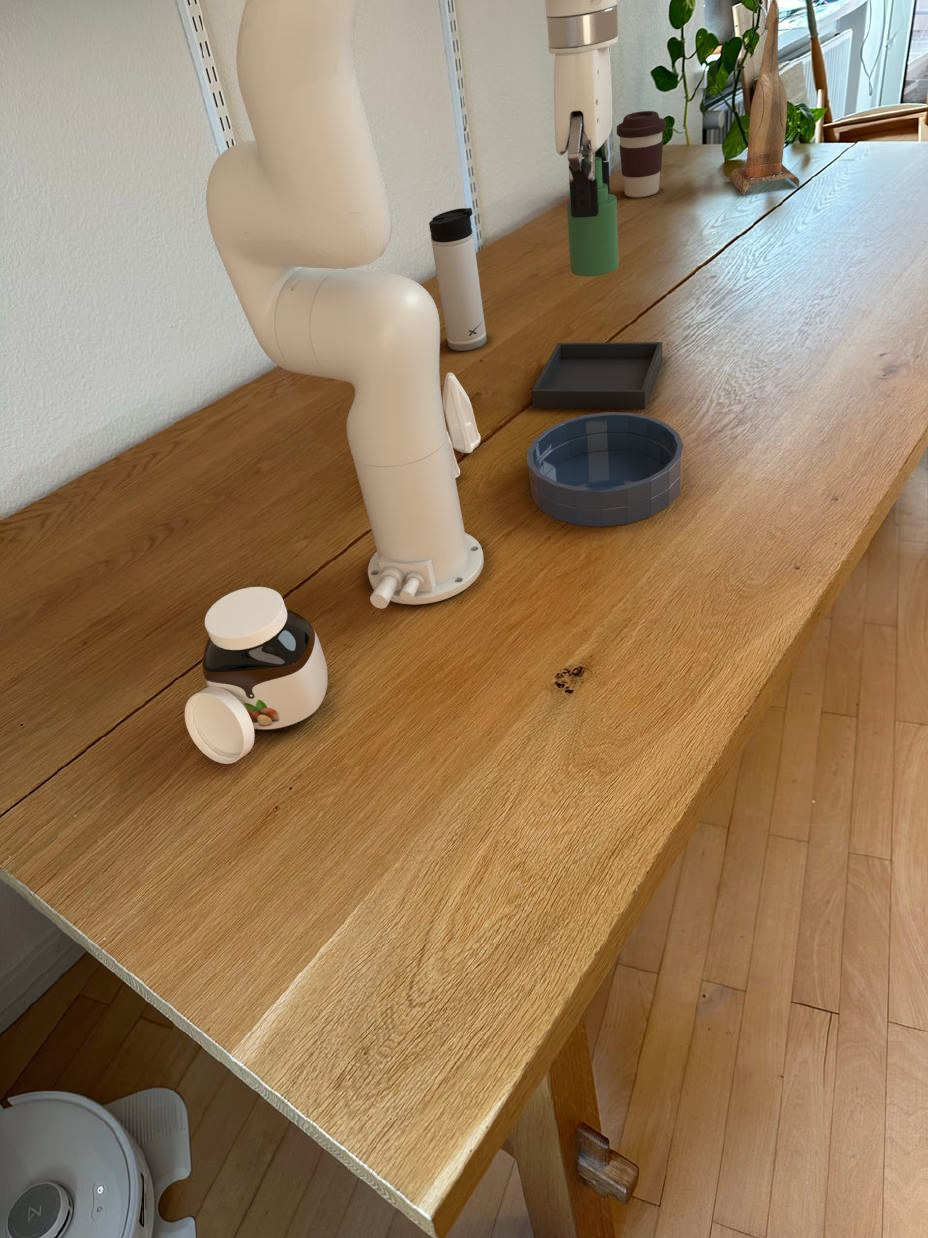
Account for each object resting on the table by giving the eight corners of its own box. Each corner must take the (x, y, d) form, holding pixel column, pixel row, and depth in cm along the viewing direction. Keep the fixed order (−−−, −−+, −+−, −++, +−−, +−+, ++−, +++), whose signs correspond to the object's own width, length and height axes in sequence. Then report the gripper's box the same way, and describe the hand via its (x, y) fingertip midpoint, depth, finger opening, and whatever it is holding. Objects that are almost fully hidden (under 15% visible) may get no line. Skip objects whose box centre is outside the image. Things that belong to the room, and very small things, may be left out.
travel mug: (485, 350, 136) (467, 216, 124) (444, 352, 138) (422, 220, 125) (492, 333, 141) (475, 202, 128) (452, 336, 142) (432, 206, 130)
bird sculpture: (781, 173, 184) (796, -12, 163) (801, 187, 175) (819, -7, 154) (728, 182, 184) (736, -1, 164) (745, 197, 175) (756, 5, 155)
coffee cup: (612, 192, 191) (610, 115, 181) (655, 182, 192) (655, 105, 182) (627, 203, 183) (625, 123, 174) (672, 193, 184) (672, 113, 174)
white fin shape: (460, 437, 116) (447, 358, 109) (489, 440, 114) (478, 360, 107) (421, 485, 108) (404, 404, 101) (451, 489, 106) (436, 406, 99)
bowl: (670, 534, 93) (670, 494, 90) (514, 524, 98) (509, 486, 95) (691, 451, 105) (692, 413, 102) (551, 446, 111) (547, 410, 107)
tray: (645, 411, 114) (644, 391, 112) (533, 409, 119) (531, 390, 117) (662, 360, 125) (662, 341, 123) (559, 360, 130) (557, 342, 128)
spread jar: (340, 673, 84) (308, 578, 76) (321, 765, 75) (283, 667, 67) (220, 683, 85) (178, 590, 78) (188, 773, 76) (138, 679, 69)
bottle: (613, 275, 107) (609, 165, 99) (566, 277, 109) (558, 169, 101) (622, 258, 111) (619, 150, 103) (576, 259, 113) (570, 154, 105)
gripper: (566, 21, 101) (576, 187, 113) (528, 50, 89) (543, 232, 101) (631, 12, 99) (634, 183, 110) (600, 41, 87) (608, 229, 98)
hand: (591, 205), depth 105 cm, fingers closed on bottle, 6 cm apart
